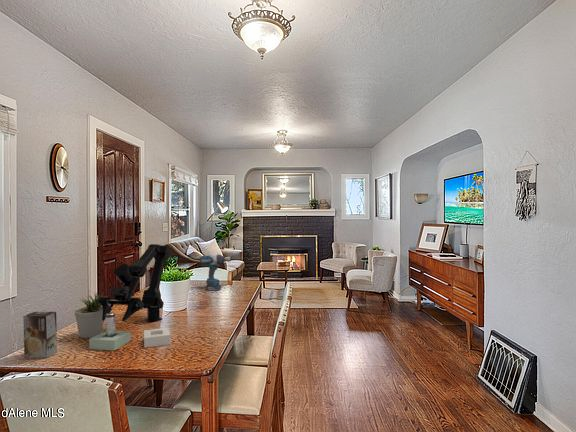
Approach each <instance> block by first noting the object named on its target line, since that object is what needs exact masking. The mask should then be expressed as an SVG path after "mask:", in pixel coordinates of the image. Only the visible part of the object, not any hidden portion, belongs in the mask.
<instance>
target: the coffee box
mask: <svg viewBox="0 0 576 432" xmlns="http://www.w3.org/2000/svg"><path fill="white" fill-rule="evenodd" d="M22 318H23V352H24V357H23V358H24V359H42V358H45V359H48V358H49V357H51V356H53V355H54V354H56V353H58V337H57V334H58V333H57V331H58V330H57V329H58V328H57V325H58V324H57V311H34V312H31V313H28V314H26V315H24V316H23V317H22Z"/></svg>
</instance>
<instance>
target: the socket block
mask: <svg viewBox="0 0 576 432" xmlns="http://www.w3.org/2000/svg"><path fill="white" fill-rule="evenodd" d="M170 333H171V332H170V329H169V327H160V328H154V329H153V328H152V329H146V330H145V329H144V330H143V340H144V341H143V348H144V349H146V348H147V347H148V348H152V347H153V348H154V347H160V346H168V345H171V334H170Z"/></svg>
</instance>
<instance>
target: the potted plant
mask: <svg viewBox="0 0 576 432" xmlns="http://www.w3.org/2000/svg"><path fill="white" fill-rule="evenodd" d="M104 292H105V291H103V292H102V293H101V295H98V291H97V292H93V293H94V298H93V296H91V295H88V296H87V295H86V298H87V300H86V299H85V298H84V297H81V298H79V300H80V301H81V302H82V303H84V304H85V305H86V306H84V307H80V308H77V309H75V310H74V311H73V313H74V316H75V321H76V326H77V331H78V335H79V338H82V339H91V338H93V337H95V336H97V335H98V334H100V333H102V332H103V331H104V330H103V329H104V328H103V327H104V323H105V320H104V321H103V320H102V314H103V306H102V305H101V304H100V303H99V302H98V300H99V298H100V297H102V296H103V295H104ZM89 298H90V299H89Z"/></svg>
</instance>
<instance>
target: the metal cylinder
mask: <svg viewBox="0 0 576 432" xmlns="http://www.w3.org/2000/svg"><path fill="white" fill-rule="evenodd" d="M105 331H106V337H114V336H115V331H116V312H110V313H106V319H105Z"/></svg>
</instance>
